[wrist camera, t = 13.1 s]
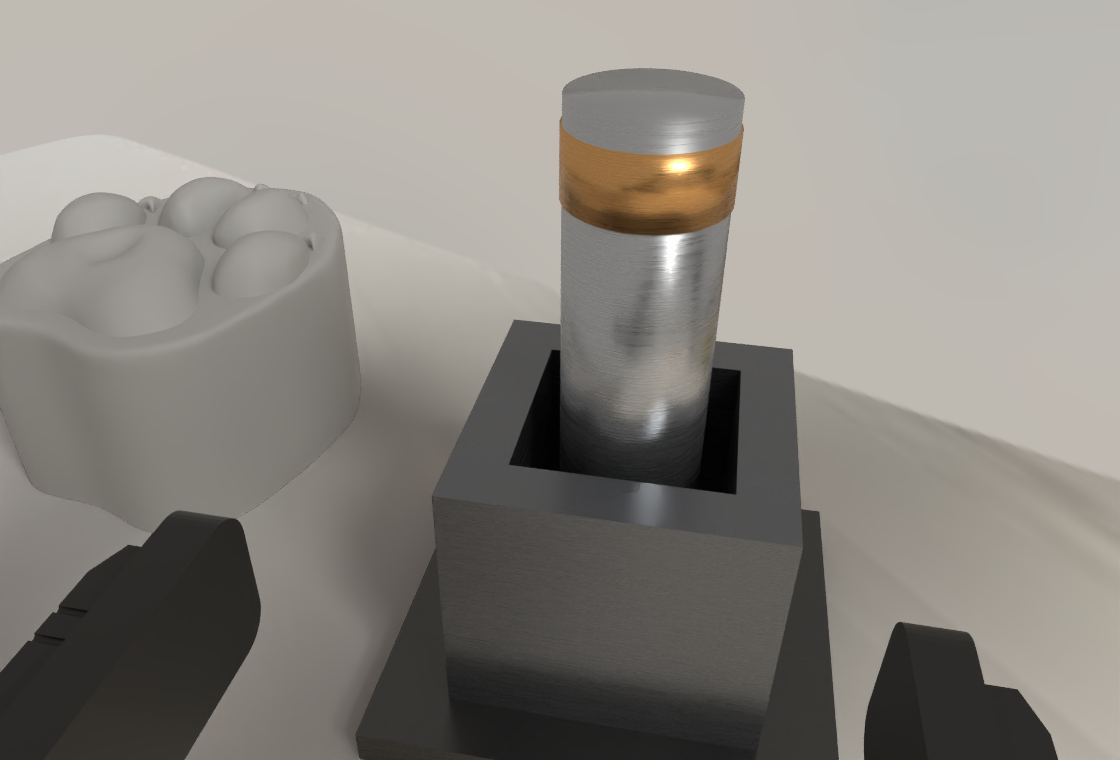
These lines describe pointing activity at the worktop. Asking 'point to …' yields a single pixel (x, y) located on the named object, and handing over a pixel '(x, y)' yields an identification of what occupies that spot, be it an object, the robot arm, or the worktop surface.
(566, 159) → the silver copper-banded cylinder
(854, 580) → the worktop surface
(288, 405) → the lumpy-topped squat cylinder
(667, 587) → the dark grey open bin
